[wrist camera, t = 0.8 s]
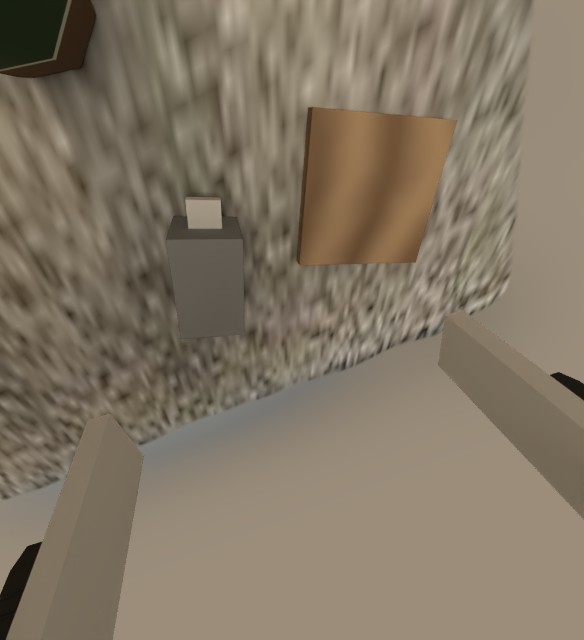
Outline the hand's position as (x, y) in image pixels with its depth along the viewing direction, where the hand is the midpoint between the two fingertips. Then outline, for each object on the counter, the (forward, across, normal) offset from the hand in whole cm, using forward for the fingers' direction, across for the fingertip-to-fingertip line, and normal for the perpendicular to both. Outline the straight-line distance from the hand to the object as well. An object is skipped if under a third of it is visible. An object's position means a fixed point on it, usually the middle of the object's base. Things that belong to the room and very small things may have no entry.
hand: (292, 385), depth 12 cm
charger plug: (+19, -4, -2) cm, 19 cm away
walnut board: (+18, +12, +1) cm, 22 cm away
